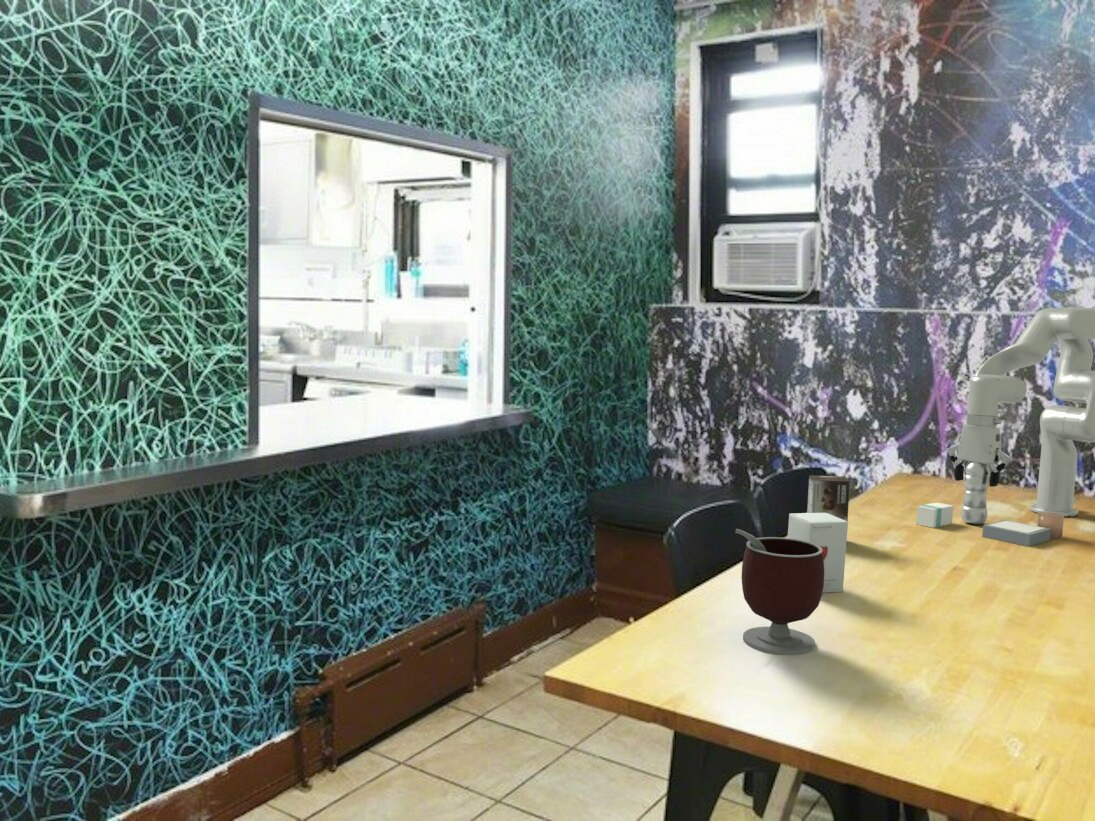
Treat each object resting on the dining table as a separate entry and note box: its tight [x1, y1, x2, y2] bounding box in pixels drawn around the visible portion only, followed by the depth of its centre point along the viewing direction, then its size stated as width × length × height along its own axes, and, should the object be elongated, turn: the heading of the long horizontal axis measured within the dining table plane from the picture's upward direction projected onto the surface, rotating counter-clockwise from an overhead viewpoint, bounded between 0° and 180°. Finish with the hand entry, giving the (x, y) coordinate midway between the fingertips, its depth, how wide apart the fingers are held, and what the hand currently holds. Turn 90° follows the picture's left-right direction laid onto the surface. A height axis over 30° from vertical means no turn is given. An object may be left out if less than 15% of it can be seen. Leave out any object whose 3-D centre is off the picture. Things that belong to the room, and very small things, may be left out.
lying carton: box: [915, 502, 954, 529], centre depth 266 cm, size 10×5×5 cm, turn 129°
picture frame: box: [981, 519, 1051, 547], centre depth 252 cm, size 12×12×3 cm
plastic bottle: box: [960, 461, 991, 525], centre depth 267 cm, size 6×7×20 cm
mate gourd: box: [735, 528, 825, 656], centre depth 168 cm, size 16×14×20 cm
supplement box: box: [787, 512, 849, 594], centre depth 202 cm, size 9×9×15 cm
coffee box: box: [806, 474, 851, 544], centre depth 242 cm, size 9×6×16 cm
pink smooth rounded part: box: [1036, 512, 1065, 540], centre depth 255 cm, size 6×6×6 cm
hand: (975, 483), depth 267 cm, fingers open, 9 cm apart
